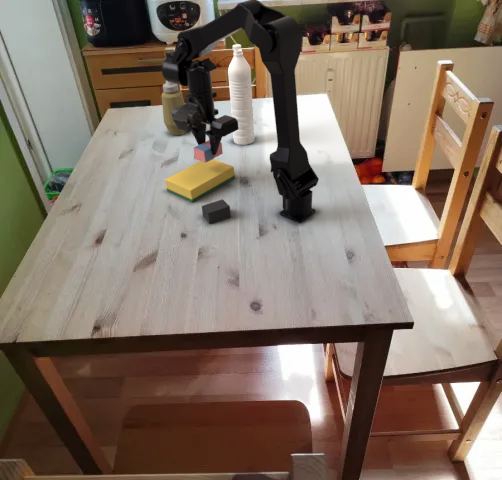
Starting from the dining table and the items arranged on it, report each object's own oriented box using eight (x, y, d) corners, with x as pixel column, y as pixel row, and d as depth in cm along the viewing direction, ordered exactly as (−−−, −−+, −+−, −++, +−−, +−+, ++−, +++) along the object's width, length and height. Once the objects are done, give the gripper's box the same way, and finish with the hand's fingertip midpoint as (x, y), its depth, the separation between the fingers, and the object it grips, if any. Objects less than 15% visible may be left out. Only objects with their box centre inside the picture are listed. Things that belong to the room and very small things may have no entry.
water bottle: (255, 144, 141) (250, 51, 124) (234, 146, 141) (226, 54, 123) (252, 132, 148) (247, 43, 130) (232, 134, 147) (224, 45, 129)
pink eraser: (212, 150, 126) (210, 138, 123) (222, 153, 124) (221, 142, 121) (194, 159, 123) (193, 147, 120) (205, 163, 120) (204, 151, 118)
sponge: (209, 168, 132) (208, 156, 130) (234, 178, 127) (233, 166, 125) (167, 191, 124) (164, 179, 122) (192, 202, 119) (190, 190, 117)
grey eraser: (224, 209, 116) (222, 198, 114) (230, 217, 114) (229, 206, 111) (203, 216, 114) (201, 205, 112) (209, 224, 112) (208, 213, 110)
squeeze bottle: (162, 130, 153) (151, 70, 140) (185, 125, 155) (176, 65, 142) (170, 139, 148) (159, 77, 135) (193, 133, 150) (185, 72, 137)
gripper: (150, 92, 112) (162, 154, 123) (203, 108, 103) (211, 174, 114) (184, 78, 117) (193, 140, 129) (237, 92, 108) (242, 157, 119)
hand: (208, 152), depth 122 cm, fingers closed on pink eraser, 4 cm apart
